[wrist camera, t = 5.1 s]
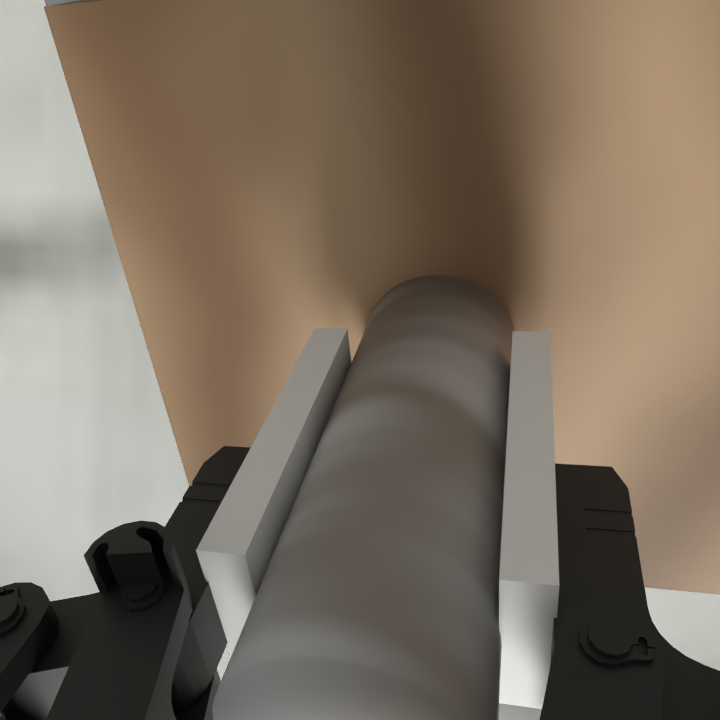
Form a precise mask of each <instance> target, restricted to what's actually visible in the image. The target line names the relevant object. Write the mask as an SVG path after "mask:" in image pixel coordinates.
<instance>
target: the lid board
mask: <svg viewBox="0 0 720 720" xmlns="http://www.w3.org/2000/svg"><path fill="white" fill-rule="evenodd" d="M44 9H45V12H46V15H47V19H48V22H49V25H50V29H51V32H52V35H53V38H54V42H55V45H56V48H57V52H58V55H59V58H60V62H61V65H62V68H63V71H64V75H65V78H66V81H67V85H68V88H69V91H70V94H71V98H72V101H73V104H74V108H75V111H76V114H77V117H78V121H79V124H80V127H81V131H82V134H83V137H84V140H85V144H86V147H87V150H88V154H89V157H90V160H91V164H92V167H93V170H94V173H95V177H96V180H97V183H98V187H99V190H100V193H101V196H102V200H103V203H104V206H105V210H106V213H107V216H108V219H109V223H110V226H111V229H112V233H113V236H114V239H115V243H116V246H117V249H118V252H119V256H120V259H121V262H122V266H123V269H124V272H125V275H126V279H127V282H128V285H129V289H130V292H131V295H132V298H133V302H134V305H135V308H136V312H137V315H138V318H139V321H140V325H141V328H142V331H143V335H144V338H145V341H146V345H147V348H148V351H149V354H150V358H151V361H152V364H153V368H154V371H155V374H156V377H157V381H158V384H159V387H160V391H161V394H162V397H163V400H164V404H165V407H166V410H167V414H168V417H169V420H170V423H171V427H172V430H173V433H174V437H175V440H176V443H177V447H178V450H179V453H180V456H181V460H182V463H183V466H184V470H185V473H186V476H187V479H188V483H189V486H192V481H193V480H194V478H195V476H196V475H197V473H198V471H199V470H200V468H201V466H202V465H203V463H204V462H205V461H206V460H208V459H209V458H210V457H211V456H212V455H214V454H215V453H216V452H217V451H218V450H220V449H221V448H222V447H223V446H235V447H251V446H252V444H253V442H254V441H255V439H256V437H257V435H258V433H259V431H260V429H261V428H262V426H263V424H264V422H265V420H266V418H267V416H268V414H269V413H270V411H271V409H272V407H273V405H274V403H275V401H276V399H277V398H278V396H279V394H280V392H281V390H282V388H283V386H284V384H285V383H286V381H287V379H288V377H289V375H290V373H291V371H292V369H293V368H294V366H295V364H296V362H297V360H298V358H299V356H300V354H301V353H302V351H303V349H304V347H305V345H306V343H307V341H308V339H309V338H310V336H311V334H312V332H313V330H314V328H341V329H348V337H349V345H350V353H351V361H352V363H351V365H350V368H349V370H348V373H347V375H346V378H345V380H344V382H343V385H342V387H341V390H340V392H339V395H338V397H337V400H336V402H335V404H334V407H333V409H332V412H331V414H330V417H329V419H328V422H327V424H326V426H325V429H324V431H323V434H322V436H321V439H320V441H319V443H318V446H317V448H316V451H315V453H314V456H313V458H312V461H311V463H310V465H309V468H308V470H307V473H306V475H305V478H304V480H303V483H302V485H301V487H300V490H299V492H298V495H297V497H296V500H295V502H294V505H293V507H292V509H291V512H290V514H289V517H288V519H287V522H286V524H285V526H284V529H283V531H282V534H281V536H280V539H279V541H278V544H277V546H276V548H275V551H274V553H273V556H272V558H271V561H270V563H269V566H268V568H267V570H266V573H265V575H264V578H263V580H262V583H261V585H260V588H259V590H258V592H257V595H256V597H255V600H254V602H253V605H252V607H251V609H250V612H249V614H248V617H247V619H246V622H245V624H244V627H243V629H242V631H241V634H240V636H239V639H238V641H237V644H236V646H235V649H234V651H233V653H232V656H231V658H230V661H229V663H228V666H227V668H226V671H225V673H224V675H223V678H222V680H221V683H220V685H219V688H218V690H217V692H216V695H215V697H214V701H213V707H212V713H213V720H498V715H499V693H500V671H501V649H502V645H501V635H500V632H499V573H500V555H501V536H502V518H503V500H504V481H505V463H506V444H507V426H508V407H509V389H510V370H511V352H512V333H513V331H531V332H550V340H551V368H552V395H553V423H554V450H555V463H557V464H574V465H591V466H608V467H613V469H614V470H615V471H616V473H617V474H618V475H619V477H620V478H621V479H622V480H623V482H624V483H625V484H626V486H627V487H628V490H629V496H630V502H631V508H632V517H633V520H634V526H635V536H636V539H637V545H638V551H639V557H640V563H641V569H642V576H643V582H644V587H647V588H658V589H668V590H679V591H689V592H700V593H710V594H720V0H79V1H72V2H66V3H61V4H56V5H50V6H45V7H44Z"/></svg>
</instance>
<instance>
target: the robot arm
mask: <svg viewBox="0 0 720 720" xmlns="http://www.w3.org/2000/svg"><path fill="white" fill-rule="evenodd" d="M351 363H352V361H351V353H350V345H349V337H348V329H341V328H314V330H313V332H312V334H311V336H310V338H309V339H308V341H307V343H306V345H305V347H304V349H303V351H302V353H301V354H300V356H299V358H298V360H297V362H296V364H295V366H294V368H293V369H292V371H291V373H290V375H289V377H288V379H287V381H286V383H285V384H284V386H283V388H282V390H281V392H280V394H279V396H278V398H277V399H276V401H275V403H274V405H273V407H272V409H271V411H270V413H269V414H268V416H267V418H266V420H265V422H264V424H263V426H262V428H261V429H260V431H259V433H258V435H257V437H256V439H255V441H254V442H253V444H252V446H251V447H235V446H223V447H222V448H221V449H220V450H218V451H217V452H216V453H215V454H214V455H212V456H211V457H210V458H209V459H208V460H206V461H205V462H204V463H203V465H202V466H201V468H200V470H199V471H198V473H197V475H196V476H195V478H194V480H193V481H192V486H189V488H188V490H187V491H186V493H185V495H184V496H183V501H182V502H180V503H179V505H178V506H177V508H176V509H175V511H174V513H173V514H172V516H171V518H170V519H169V521H168V523H167V524H166V526H165V527H163V526H162V525H160V524H158V523H156V522H148V521H137V522H132V523H127V524H123V525H121V526H118V527H116V528H114V529H112V530H110V531H107V532H106V533H105V534H104V535H102V536H101V537H100V538H98V539H97V540H96V541H95V542H93V544H92V545H91V546H90V548H89V549H88V551H87V552H86V553H85V555H84V557H85V559H86V562H87V564H88V566H89V568H90V571H91V573H92V575H93V577H94V580H95V582H96V584H97V587H98V589H99V591H100V592H98V593H94V594H91V595H85V596H80V597H74V598H68V599H63V600H57V601H51V602H50V601H49V599H48V597H47V595H46V593H45V592H44V590H43V588H42V587H40V586H37V585H35V584H33V583H13V584H10V585H6V586H3V587H0V714H1V717H0V720H213V713H212V707H213V701H214V697H215V695H216V692H217V690H218V688H219V685H220V678H219V675H218V672H217V666H218V664H219V661H220V659H221V657H222V654H223V652H224V650H225V647H226V646H227V650H228V653H229V656H230V658H231V656H232V653H233V651H234V649H235V646H236V644H237V641H238V639H239V636H240V634H241V631H242V629H243V627H244V624H245V622H246V619H247V617H248V614H249V612H250V609H251V607H252V605H253V602H254V600H255V597H256V595H257V592H258V590H259V588H260V585H261V583H262V580H263V578H264V575H265V573H266V570H267V568H268V566H269V563H270V561H271V558H272V556H273V553H274V551H275V548H276V546H277V544H278V541H279V539H280V536H281V534H282V531H283V529H284V526H285V524H286V522H287V519H288V517H289V514H290V512H291V509H292V507H293V505H294V502H295V500H296V497H297V495H298V492H299V490H300V487H301V485H302V483H303V480H304V478H305V475H306V473H307V470H308V468H309V465H310V463H311V461H312V458H313V456H314V453H315V451H316V448H317V446H318V443H319V441H320V439H321V436H322V434H323V431H324V429H325V426H326V424H327V422H328V419H329V417H330V414H331V412H332V409H333V407H334V404H335V402H336V400H337V397H338V395H339V392H340V390H341V387H342V385H343V382H344V380H345V378H346V375H347V373H348V370H349V368H350V365H351ZM499 632H500V635H501V645H502V649H501V671H500V693H499V703H503V704H510V705H517V706H525V707H532V708H539V709H542V711H541V716H540V720H720V671H718V670H716V669H713V668H710V667H708V666H705V665H703V664H701V663H699V662H697V661H695V660H693V659H691V658H688V657H686V656H685V655H683V654H682V653H681V652H679V651H678V650H677V649H675V648H674V647H672V646H671V645H670V644H669V643H668V642H667V641H666V640H665V639H664V638H663V637H662V636H661V634H660V633H659V632H658V630H657V629H656V627H655V625H654V624H653V622H652V620H651V617H650V614H649V611H648V606H647V600H646V594H645V588H644V582H643V576H642V569H641V563H640V557H639V551H638V545H637V539H636V536H635V526H634V520H633V517H632V508H631V502H630V496H629V490H628V487H627V486H626V484H625V483H624V482H623V480H622V479H621V478H620V477H619V475H618V474H617V473H616V471H615V470H614V469H613V467H608V466H591V465H574V464H557V463H555V450H554V423H553V395H552V368H551V340H550V332H531V331H513V333H512V352H511V370H510V389H509V407H508V426H507V444H506V463H505V481H504V500H503V518H502V536H501V555H500V573H499Z"/></svg>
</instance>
